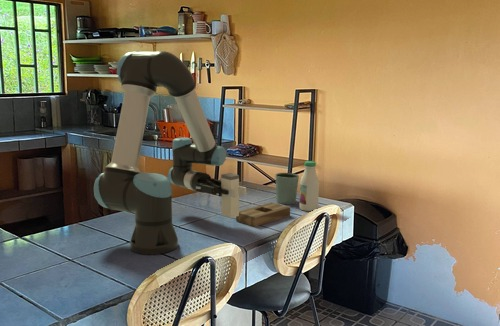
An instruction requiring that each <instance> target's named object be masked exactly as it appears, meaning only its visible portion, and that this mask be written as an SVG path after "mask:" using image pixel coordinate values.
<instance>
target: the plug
mask: <svg viewBox="0 0 500 326" xmlns="http://www.w3.org/2000/svg"><path fill="white" fill-rule="evenodd" d="M220 176H221V178H220V179H221V187H222V189H223V187H227V188H231V189H235V190H237V197H236V198H234V197H230V196H227V195H223V194H222V196H220V201H221V204H220V205H221V216H223V217H226V218H229V219H232V218H236V216H239V211H240V194H239V186H240V175H239V174H237V173H232V172H228V173H227V172H226V173H223V174H221V175H220Z"/></svg>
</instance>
